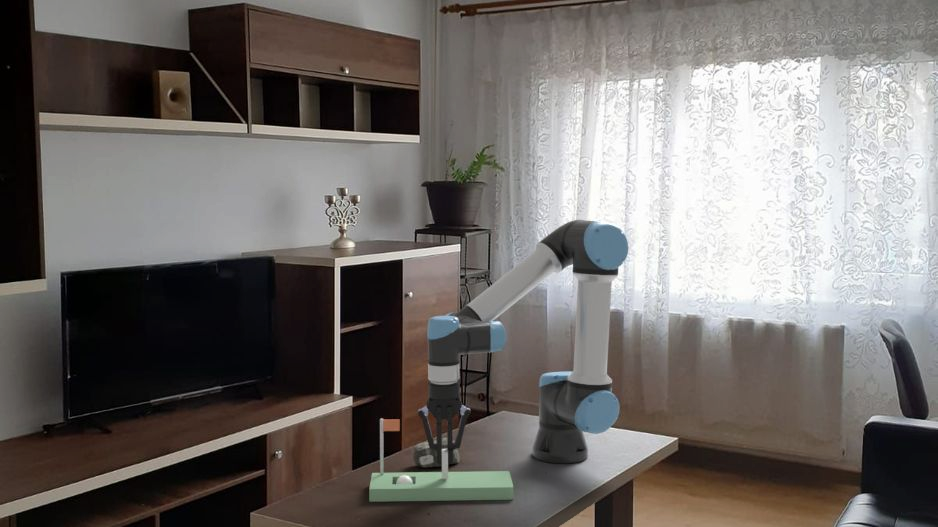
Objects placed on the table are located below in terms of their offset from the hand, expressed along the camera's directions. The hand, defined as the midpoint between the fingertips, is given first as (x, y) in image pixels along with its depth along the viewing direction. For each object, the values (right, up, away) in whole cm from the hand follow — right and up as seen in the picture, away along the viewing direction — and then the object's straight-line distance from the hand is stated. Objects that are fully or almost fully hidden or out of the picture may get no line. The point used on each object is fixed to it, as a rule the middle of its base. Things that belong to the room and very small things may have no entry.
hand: (445, 476), depth 225 cm
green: (-1, -4, 0) cm, 4 cm away
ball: (-10, -2, -1) cm, 10 cm away
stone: (-2, -2, +22) cm, 22 cm away
